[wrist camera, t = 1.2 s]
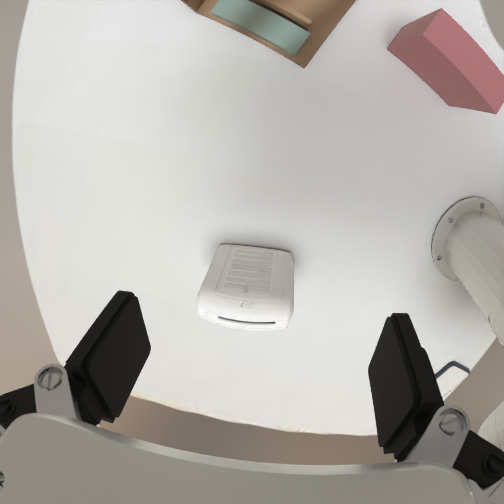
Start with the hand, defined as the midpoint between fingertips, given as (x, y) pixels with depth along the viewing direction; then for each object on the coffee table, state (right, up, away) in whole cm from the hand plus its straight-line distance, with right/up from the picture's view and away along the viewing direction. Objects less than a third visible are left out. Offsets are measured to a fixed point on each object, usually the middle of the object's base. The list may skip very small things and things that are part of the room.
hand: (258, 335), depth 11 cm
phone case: (+38, -25, +40) cm, 61 cm away
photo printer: (0, +2, +29) cm, 29 cm away
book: (+20, +24, +15) cm, 35 cm away
